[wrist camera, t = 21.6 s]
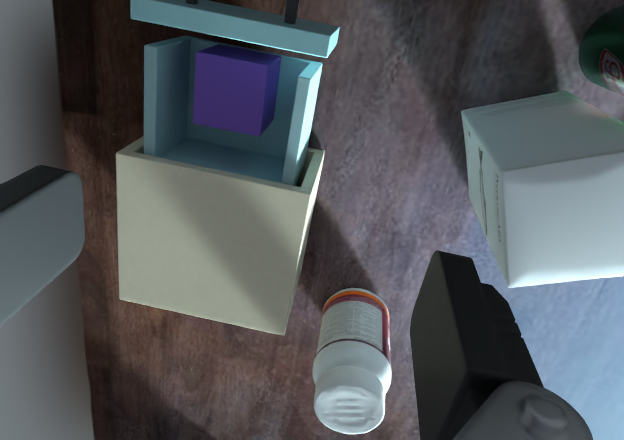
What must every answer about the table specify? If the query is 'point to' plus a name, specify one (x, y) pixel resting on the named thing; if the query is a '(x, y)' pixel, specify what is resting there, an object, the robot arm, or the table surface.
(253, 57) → the purple cube
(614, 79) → the soda can
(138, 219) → the block
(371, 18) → the table surface
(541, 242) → the white packaging box
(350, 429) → the pill bottle
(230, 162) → the drawer
